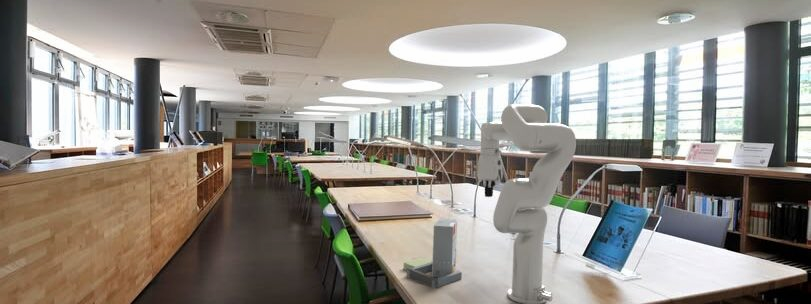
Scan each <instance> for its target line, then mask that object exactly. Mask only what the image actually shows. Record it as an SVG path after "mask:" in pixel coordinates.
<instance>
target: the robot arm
mask: <svg viewBox="0 0 811 304" xmlns="http://www.w3.org/2000/svg"><path fill="white" fill-rule="evenodd" d="M500 117H501V118H500V121H489V122H483V123H482V124H481V126H480V155H479V157H478V161H477V166H476V167H477V168H476V170H477V171H476V175H477V181H478V182H479V183H482V185H483V187H484V197H485V198H491V197H493V195H494V187H495V186H496V185H497V184H501V183H502V180H503V172H504V171H503V161H502V157H501V156H500V154H502V150H501V149H500V142H502V141H504V142H505V141H506V142H512V143H513V144H514V146H515V147H516V148H517V149H519V150H521V151H523V152H547V153H545V155H543V156H542V157H540V158H539V159H538V160H537V161H536V163H535V164H534V165H533V167H532V168H533V169H532V171H531V173H530V175H529V176H527V177H525V178H524V177H522V178H521V177H516V178H510V179H508V180H506V181H505V182H504V183H503V185H502V188H501V190H500V193H499V196H498V199H497V201H496V204H495V209H494V212H493V217H492V219H493V220H492V221H493V226H494V228H495V230H496V231H497V232H499V233H502V234H517V235H516V237H515V239H514V241H513V247H512V248H513V249H512V276H511V277H512V278H511V279H512V284H511V287H510V288H508V289H507V291H506V295H507V297H508V298H509V299H510V300H512V301H514V302H517V303H519V304H544V303H545V302H550V303H551V302H552V301H553V293H552V292H549V291H546V289H545V288H546V286H545V285H543V265H544V264H543V262H544V261H543V259H544V256H543V255H544V239H545V238H544V237H545V233H546V228H547V224H548V213H547V211H546V210H545V207H547V206H548V205H549V204H551V202H552V200H553V197H554V195H555V193H556V191H557V188H558V186H559V184H560V182H561V178H562V176H563V174H564V173H565V171H566V170H567V168H568V166H569V165H570V163H571V161H572V160H573V158H574V156H575V152H576V150H577V149H576V148H577V139H576V135H575V132H574V131H573V129H572V128H570V127H569V126H567V125H565V124H562V123H561V124H560V123H552V122H551V123H549V122H548V119H549V117H548V112H547V110H545V108H543V107H542V106H540V105H536V104H523V103H522V104H520V103H519V104H518V103H513V104H508V105H507V106H506V107H504V109H503V110H502V113H501V116H500ZM547 122H548V123H547Z"/></svg>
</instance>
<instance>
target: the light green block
mask: <svg viewBox="0 0 811 304" xmlns="http://www.w3.org/2000/svg"><path fill="white" fill-rule="evenodd" d="M431 262H433V260H430V259H427V258H425V257H419V258H415V259H411V260H407V261H404V262H403V270H406V271H407V268H414V267H418V266H421V265H424V264H428V263H431Z"/></svg>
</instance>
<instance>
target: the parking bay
mask: <svg viewBox="0 0 811 304" xmlns="http://www.w3.org/2000/svg"><path fill="white" fill-rule="evenodd" d="M427 272H432V262H431V263H428V264H424V265H421V266H418V267H414V268H407V270H406V277H407V278H411V279H412V280H415V281H418V282H420V283H422V284H424V285H426V286H428V287H431V288H434V289H437V288H440V287H443V286H444V285H448V284H451V283H452V282H453V283H454V282H455V281H458V280H462V275H463V274H462V273H463V272H462V271H460V270H457V271H454V273H451V274H448V275H445V276H442V277H432V275H429V274H427Z"/></svg>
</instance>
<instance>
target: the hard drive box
mask: <svg viewBox="0 0 811 304" xmlns="http://www.w3.org/2000/svg"><path fill="white" fill-rule="evenodd" d="M457 231H458V219H456V218H444V217H443V218H442V217H440V218H439V219H438V220H437V222H436V223H435V224H434V225H433V236H432V237H433V242H432V261H433V262H432V270H431V276H432V277H435V278H439V277H442V276H445V275H448V274H451V273H454V272H455V269H456V267H457V266H456V265H457V235H458V234H457V233H458V232H457Z"/></svg>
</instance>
